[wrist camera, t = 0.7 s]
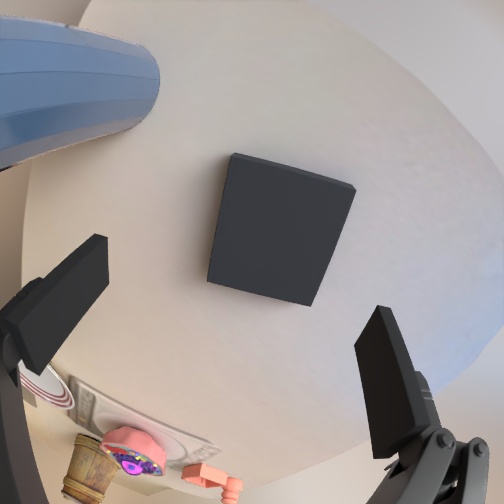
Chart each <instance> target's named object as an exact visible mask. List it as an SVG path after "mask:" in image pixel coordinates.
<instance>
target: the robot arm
mask: <svg viewBox="0 0 504 504" xmlns="http://www.w3.org/2000/svg"><path fill="white" fill-rule="evenodd" d="M108 285H109V270H108V237H105V236H102V235H98V234H93V235H92V236H91V237H90V238H89V239H87V240H86V241H85V242H84V243H83V244H82V245H80V246H79V247H78V248H77V249H76V250H75V251H73V252H72V253H71V254H70V255H69V256H68V257H67V258H65V259H64V260H63V261H62V262H61V263H60V264H59V265H58V266H57V267H55V268H54V269H53V270H52V271H51V272H50V273H49V274H48V275H47V276H46V277H45V278H44V279H43V278H40V277H38V278H36V279H34V280H32V281H30V282H29V283H28V284H27V285H25V286H24V287H23V288H22V290H21V291H19V292H18V293H17V294H16V296H14V297H13V298H12V299H11V300H10V301H9V302H8V303H7V304H6V305H5V306H4V307H3V308H2V309H1V310H0V504H49V502H48V500H47V497H46V494H45V491H44V488H43V485H42V482H41V479H40V475H39V472H38V469H37V465H36V461H35V458H34V454H33V450H32V446H31V442H30V437H29V432H28V427H27V422H26V416H25V410H24V404H23V397H22V389H21V379H20V370H19V366H18V363H19V362H20V361H21V359H22V361H23V363H24V365H25V367H26V369H28V370H30V371H31V372H33V373H35V374H36V375H38V376H40V375H41V374H42V372H43V371H44V369H45V368H46V366H47V365H48V363H49V362H50V361H51V359H52V358H53V356H54V355H55V353H56V352H57V351H58V349H59V348H60V347H61V345H62V344H63V342H64V341H65V340H66V338H67V337H68V336H69V334H70V333H71V332H72V330H73V329H74V328H75V326H76V325H77V324H78V322H79V321H80V320H81V318H82V317H83V316H84V315H85V313H86V312H87V311H88V309H89V308H90V307H91V306H92V304H93V303H94V302H95V301H96V299H97V298H98V297H99V296H100V294H101V293H102V292H103V291H104V290H105V288H106V287H107V286H108ZM354 347H355V352H356V357H357V362H358V367H359V372H360V377H361V382H362V388H363V393H364V399H365V405H366V411H367V417H368V423H369V430H370V437H371V444H372V451H373V458H374V459H385V458H390V457H392V456H393V455H394V454H396V453H397V452H398V455H399V459H397V460H396V461H394V462H393V463H392V464H390V465H388V466H387V467H386V468H385V469H384V470H385V471H386V470H388V469H389V468H391V469H390V470H389V472H388V473H387V475H386V476H385V478H384V479H383V481H382V482H381V484H380V485H379V486H378V488H377V489H376V491H375V492H374V494H373V495H372V496H371V498H370V499H369V500H368V502H367V503H366V504H485V498H486V489H487V480H488V467H489V448H488V445H487V443H486V442H485V441H484V440H483V439H481V438H478V437H476V438H473V439H472V440H471V441H469V442H468V443H463V442H460V441H456V440H455V437H454V436H453V434H452V433H451V432H450V431H449V430H448V429H445V428H442V426H441V423H440V420H439V417H438V413H437V411H436V407H435V404H434V401H433V400H432V395H431V392H429V391H430V389H429V386H428V383H427V381H426V379H425V378H424V376H423V375H422V374H421V372H420V371H415V370H414V367H413V364H412V362H411V359H410V356H409V353H408V351H407V348H406V345H405V343H404V340H403V337H402V335H401V332H400V330H399V327H398V325H397V322H396V320H395V317H394V315H393V313H392V310H391V308H389V307H384V306H380V305H377V307H376V309H375V311H374V312H373V314H372V316H371V318H370V319H369V321H368V323H367V324H366V326H365V328H364V330H363V331H362V333H361V335H360V336H359V338H358V339H357V341H356V343H355V344H354ZM457 480H458V482H457V486H456V487H454V484H455V481H457Z"/></svg>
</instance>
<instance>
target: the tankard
mask: <svg viewBox="0 0 504 504" xmlns="http://www.w3.org/2000/svg"><path fill="white" fill-rule="evenodd" d="M100 444H101V443H99V442H97V441H95V440H93V439H91V438H89V437H86V436H83V435H78V436H77V437H76V440H75V442H74V445H75V448H74V451H73V455H72V458H71V462H70V466H69V469H68V472H67V475H66V476H65V477H64V480H63V481H64V482H63V484H64V488H63V490H61V492H62V494H63V495H64V498H65V499H67V500H72V501H74V502H76V503H78V504H99V503H101V502H102V500H103V498H104V494H105V492H106V490H107V488H108V486H109V484H110V482H111V481H112V479H113V477H114V476H115V474H116V472H117V470H118V469H121V464H119V463H117V462H116V461H114V460H113V459H111V458H110V457H109V456H108V455H107V454H106V453H105V452H104V451H103V450H102V449H101V448H100Z"/></svg>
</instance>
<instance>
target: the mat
mask: <svg viewBox="0 0 504 504" xmlns="http://www.w3.org/2000/svg"><path fill="white" fill-rule="evenodd" d="M355 193H356V189H355V188H354V187H353V186H352V185H351V184H348V183H345V182H341V181H338V180H335V179H332V178H329V177H325V176H322V175H319V174H315V173H312V172H308V171H305V170H301V169H298V168H294V167H290V166H287V165H283V164H279V163H275V162H271V161H267V160H263V159H259V158H255V157H251V156H247V155H243V154H238V153H234V154H233V155H232V156H231V159H230V164H229V168H228V173H227V178H226V182H225V187H224V192H223V197H222V202H221V207H220V212H219V217H218V222H217V227H216V232H215V237H214V243H213V248H212V253H211V259H210V264H209V270H208V276H207V282H211V283H215V284H219V285H223V286H226V287H230V288H234V289H238V290H242V291H246V292H250V293H254V294H258V295H263V296H267V297H271V298H275V299H279V300H283V301H288V302H292V303H296V304H301V305H305V306H309V307H311V305H312V303H313V300H314V298H315V296H316V294H317V291H318V289H319V286H320V284H321V282H322V279H323V277H324V274H325V272H326V270H327V267H328V265H329V262H330V260H331V257H332V255H333V252H334V250H335V247H336V245H337V242H338V239H339V237H340V234H341V232H342V229H343V226H344V224H345V221H346V218H347V215H348V213H349V210H350V207H351V204H352V202H353V199H354V196H355Z"/></svg>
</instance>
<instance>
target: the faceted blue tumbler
mask: <svg viewBox="0 0 504 504" xmlns="http://www.w3.org/2000/svg"><path fill="white" fill-rule="evenodd" d="M159 85H160V74H159V69H158V65H157V63H156V60H155V59H154V57H153V56H152V54H151V53H150V52H149V51H148V50H147V49H145V48H144V47H142V46H140V45H138V44H135V43H133V42H131V41H128V40H125V39H121V38H118V37H115V36H111V35H108V34H104V33H100V32H97V31H93V30H89V29H85V28H80V27H76V26H71V25H67V24H62V23H57V22H51V21H45V20H39V19H33V18H25V17H17V16H7V15H0V172H1V171H4V170H6V169H8V168H11V167H13V166H16V165H18V164H21V163H23V162H26V161H29V160H31V159H34V158H37V157H39V156H42V155H45V154H48V153H51V152H54V151H57V150H60V149H63V148H66V147H69V146H72V145H76V144H79V143H82V142H86V141H89V140H93V139H96V138H100V137H104V136H108V135H112V134H115V133H118V132H121V131H125V130H128V129H130V128H132V127H134V126H135V125H137V124H138V123H140V122H141V121H142V120H143V119H144V118H145V117H146V116H147V114H148V113H149V112H150V110H151V109H152V107H153V105H154V103H155V101H156V98H157V95H158V91H159Z"/></svg>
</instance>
